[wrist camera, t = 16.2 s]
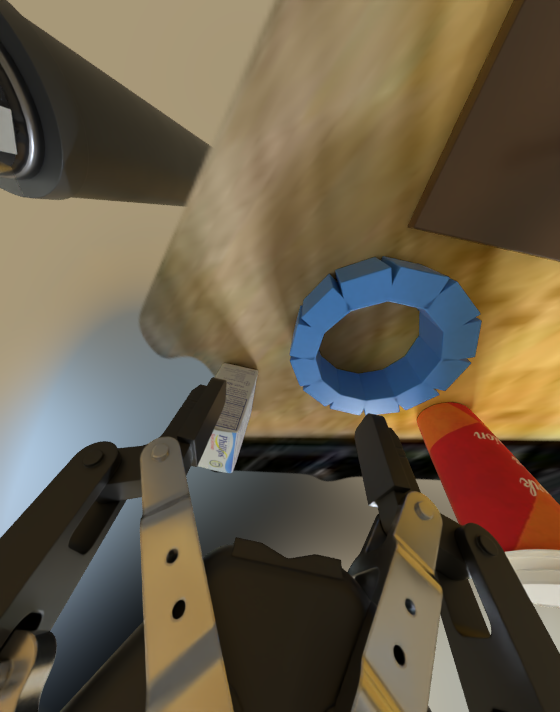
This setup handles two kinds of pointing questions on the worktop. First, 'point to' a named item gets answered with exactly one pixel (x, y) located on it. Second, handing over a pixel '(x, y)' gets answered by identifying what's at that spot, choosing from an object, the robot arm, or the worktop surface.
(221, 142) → the worktop surface
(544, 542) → the paper cup
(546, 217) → the brown peg stand
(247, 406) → the medicine box
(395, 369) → the blue notched ring
